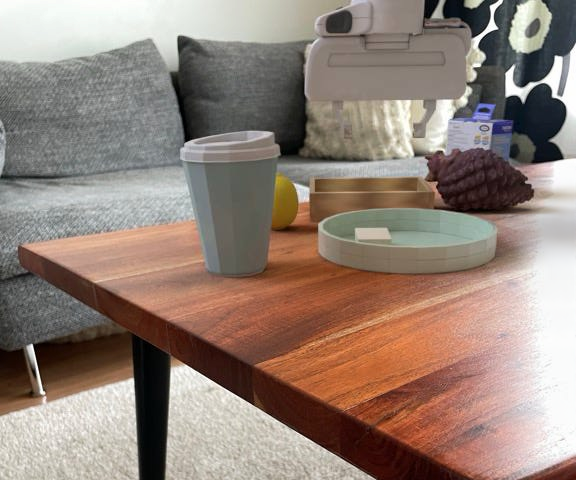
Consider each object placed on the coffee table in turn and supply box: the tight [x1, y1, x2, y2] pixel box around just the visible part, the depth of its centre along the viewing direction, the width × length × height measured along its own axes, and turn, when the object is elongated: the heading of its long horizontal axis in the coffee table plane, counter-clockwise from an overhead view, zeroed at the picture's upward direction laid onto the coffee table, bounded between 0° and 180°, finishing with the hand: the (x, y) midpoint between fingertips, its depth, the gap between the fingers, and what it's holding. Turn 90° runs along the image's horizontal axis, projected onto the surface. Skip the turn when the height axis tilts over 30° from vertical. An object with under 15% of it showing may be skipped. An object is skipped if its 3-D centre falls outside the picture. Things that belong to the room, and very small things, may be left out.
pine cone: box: [424, 147, 535, 212], centre depth 110 cm, size 18×10×10 cm
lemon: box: [271, 172, 299, 231], centre depth 98 cm, size 6×6×8 cm
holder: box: [308, 176, 436, 223], centre depth 108 cm, size 18×14×5 cm
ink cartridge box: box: [444, 102, 514, 163], centre depth 120 cm, size 10×6×14 cm, turn 36°
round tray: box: [317, 208, 499, 275], centre depth 87 cm, size 21×21×4 cm
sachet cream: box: [355, 228, 392, 245], centre depth 87 cm, size 4×6×2 cm, turn 178°
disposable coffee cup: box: [179, 130, 282, 278], centre depth 78 cm, size 11×11×15 cm
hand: (382, 138), depth 94 cm, fingers open, 8 cm apart
